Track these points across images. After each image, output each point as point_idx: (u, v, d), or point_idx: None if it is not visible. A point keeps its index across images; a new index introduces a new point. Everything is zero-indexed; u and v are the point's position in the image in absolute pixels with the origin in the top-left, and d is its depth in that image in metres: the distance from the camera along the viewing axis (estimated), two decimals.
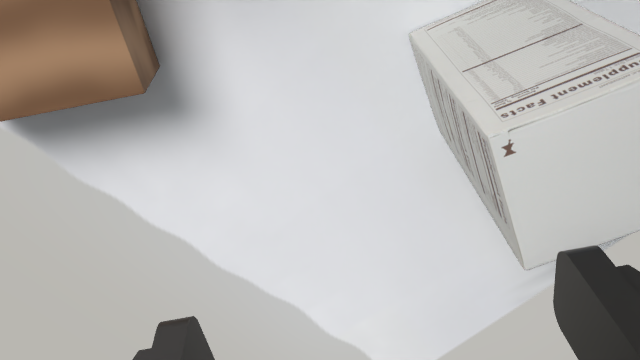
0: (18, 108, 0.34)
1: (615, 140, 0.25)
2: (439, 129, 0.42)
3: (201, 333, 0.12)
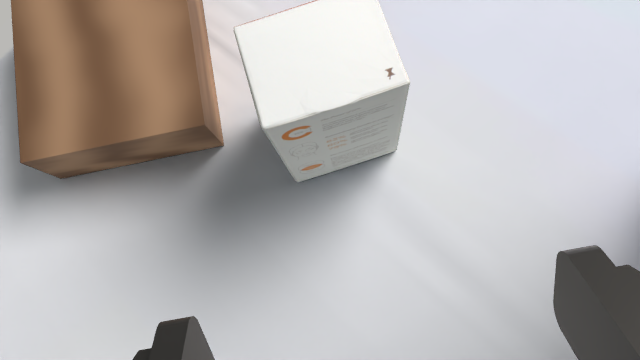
0: (22, 53, 0.38)
1: None
2: None
3: (201, 333, 0.12)
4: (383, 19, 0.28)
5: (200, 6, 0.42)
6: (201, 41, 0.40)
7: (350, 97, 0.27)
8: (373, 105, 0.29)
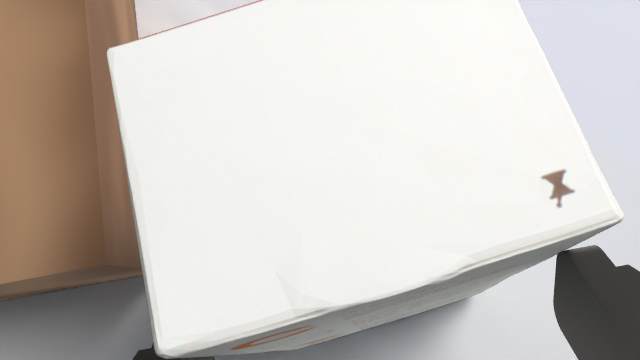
0: None
1: None
2: None
3: None
4: (525, 26, 0.10)
5: (128, 18, 0.24)
6: None
7: (435, 260, 0.09)
8: (491, 270, 0.10)
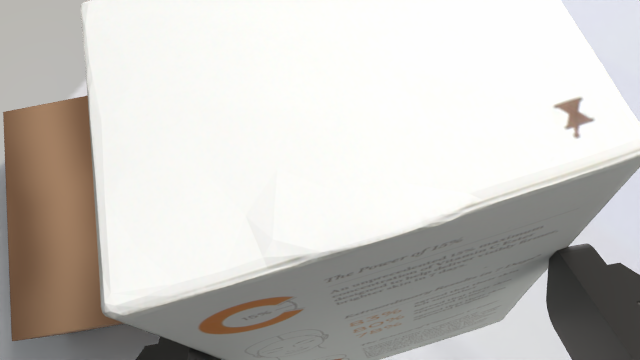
0: (16, 190, 0.30)
1: None
2: None
3: None
4: None
5: None
6: None
7: (432, 200, 0.07)
8: (502, 232, 0.09)
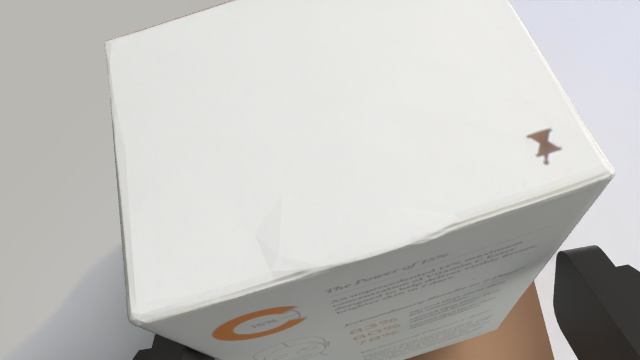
0: None
1: None
2: None
3: None
4: (505, 2, 0.10)
5: None
6: None
7: (419, 219, 0.08)
8: (484, 247, 0.09)
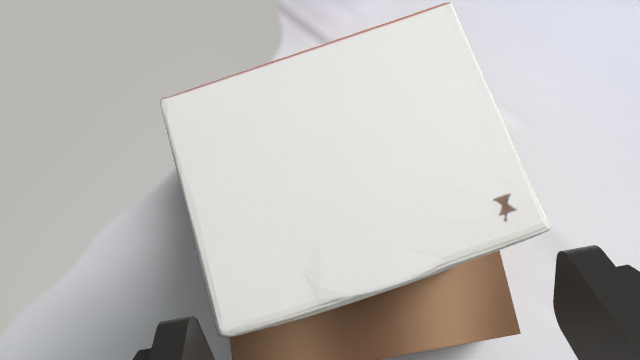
0: None
1: None
2: None
3: (201, 333, 0.12)
4: (483, 83, 0.13)
5: None
6: None
7: (418, 262, 0.12)
8: (458, 263, 0.13)
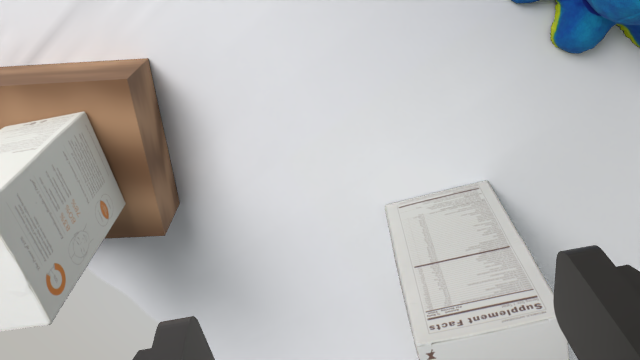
0: None
1: (511, 359, 0.33)
2: None
3: (201, 333, 0.12)
4: None
5: None
6: (35, 73, 0.39)
7: (7, 258, 0.28)
8: (17, 223, 0.28)
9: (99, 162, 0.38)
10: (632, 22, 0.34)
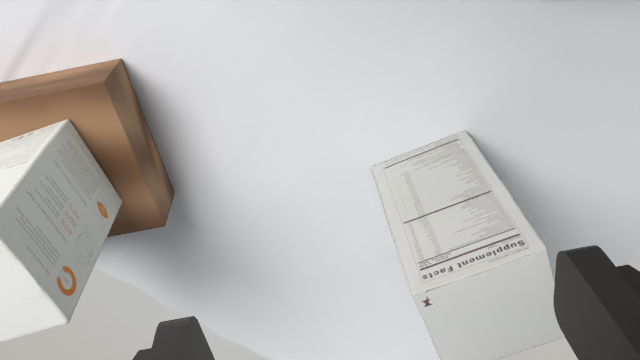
0: None
1: (502, 296, 0.35)
2: None
3: (201, 333, 0.12)
4: None
5: None
6: (15, 88, 0.40)
7: (17, 267, 0.30)
8: (21, 234, 0.30)
9: (90, 165, 0.40)
10: None
